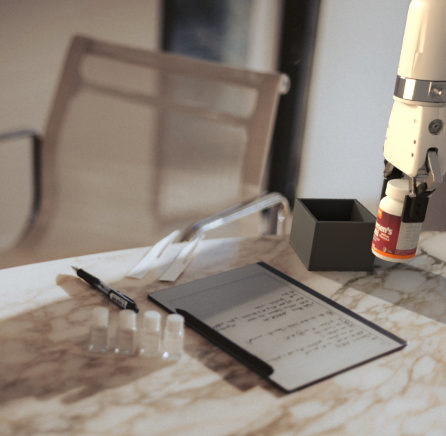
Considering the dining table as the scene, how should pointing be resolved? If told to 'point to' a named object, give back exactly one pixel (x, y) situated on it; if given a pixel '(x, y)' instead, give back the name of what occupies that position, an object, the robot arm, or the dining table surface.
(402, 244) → the pill bottle
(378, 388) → the dining table surface
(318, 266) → the waste bin
